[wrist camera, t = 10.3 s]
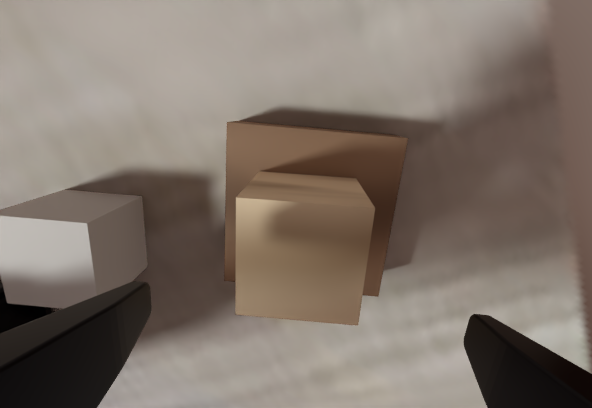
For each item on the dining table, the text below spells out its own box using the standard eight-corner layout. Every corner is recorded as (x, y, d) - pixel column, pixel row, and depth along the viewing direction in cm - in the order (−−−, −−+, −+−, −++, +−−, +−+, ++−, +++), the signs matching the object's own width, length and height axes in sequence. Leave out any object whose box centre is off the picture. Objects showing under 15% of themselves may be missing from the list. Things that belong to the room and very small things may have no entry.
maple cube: (345, 265, 17) (357, 325, 12) (257, 258, 17) (235, 314, 12) (356, 178, 16) (375, 207, 11) (259, 171, 16) (236, 197, 11)
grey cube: (148, 265, 21) (99, 312, 16) (77, 259, 21) (7, 303, 16) (142, 195, 19) (87, 223, 14) (66, 189, 19) (-15, 214, 15)
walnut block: (368, 270, 20) (378, 296, 18) (236, 257, 21) (224, 280, 18) (392, 134, 18) (408, 138, 15) (240, 120, 18) (226, 122, 15)
